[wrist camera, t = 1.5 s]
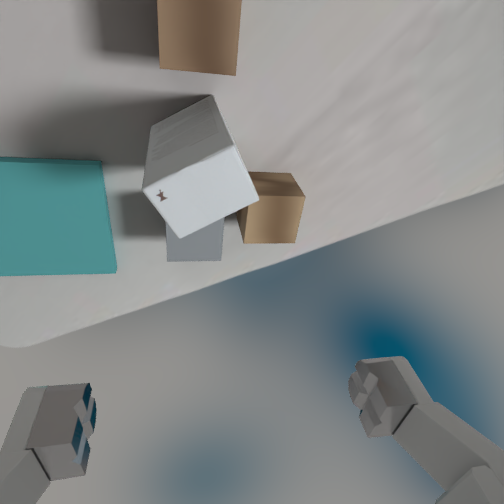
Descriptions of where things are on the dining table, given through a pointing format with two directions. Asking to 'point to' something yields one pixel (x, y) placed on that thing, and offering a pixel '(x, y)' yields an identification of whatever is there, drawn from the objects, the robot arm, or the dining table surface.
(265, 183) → the light brown wooden cube
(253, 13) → the dining table surface
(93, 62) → the dining table surface
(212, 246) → the slate grey block
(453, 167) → the dining table surface
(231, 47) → the walnut block
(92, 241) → the teal mat
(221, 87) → the dining table surface
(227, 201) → the skincare box
